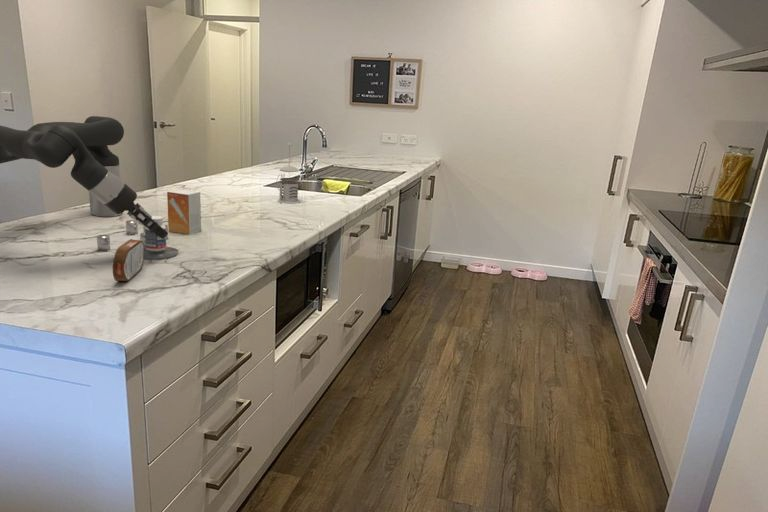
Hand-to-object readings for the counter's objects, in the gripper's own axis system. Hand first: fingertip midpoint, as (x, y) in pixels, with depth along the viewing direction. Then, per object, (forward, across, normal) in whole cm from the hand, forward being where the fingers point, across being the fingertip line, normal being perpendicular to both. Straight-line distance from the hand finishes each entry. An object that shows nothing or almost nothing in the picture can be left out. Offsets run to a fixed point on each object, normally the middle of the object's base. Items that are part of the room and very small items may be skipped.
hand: (162, 233), depth 154 cm
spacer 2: (+2, -8, -6) cm, 10 cm away
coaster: (+3, 0, -5) cm, 6 cm away
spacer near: (-6, -9, -14) cm, 17 cm away
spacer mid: (+5, -21, -4) cm, 22 cm away
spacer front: (+7, -16, -2) cm, 17 cm away
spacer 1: (+2, -24, -7) cm, 25 cm away
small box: (+13, -22, +4) cm, 26 cm away
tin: (-4, +17, -12) cm, 21 cm away
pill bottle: (+2, 0, -4) cm, 5 cm away
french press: (+49, -58, +41) cm, 87 cm away
